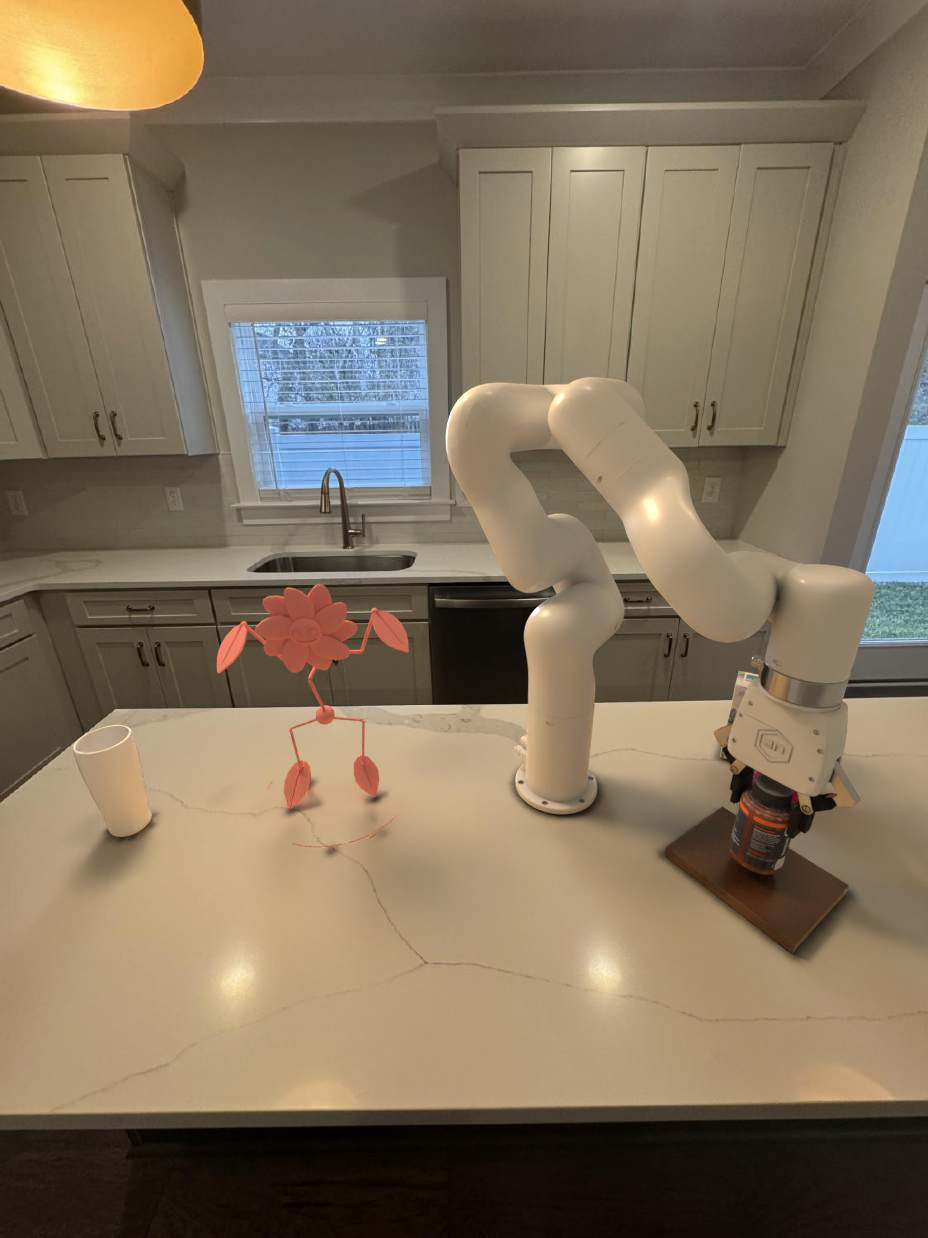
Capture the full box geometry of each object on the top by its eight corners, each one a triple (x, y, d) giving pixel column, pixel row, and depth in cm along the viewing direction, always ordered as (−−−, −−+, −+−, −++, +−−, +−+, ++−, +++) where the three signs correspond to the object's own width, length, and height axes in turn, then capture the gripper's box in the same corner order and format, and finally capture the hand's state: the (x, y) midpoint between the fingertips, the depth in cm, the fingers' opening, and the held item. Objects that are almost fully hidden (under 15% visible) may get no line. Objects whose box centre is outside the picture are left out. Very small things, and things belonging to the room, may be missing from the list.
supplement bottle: (793, 878, 60) (817, 803, 56) (742, 877, 60) (762, 803, 56) (765, 838, 66) (785, 767, 61) (719, 838, 66) (736, 767, 62)
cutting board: (664, 855, 67) (665, 846, 66) (720, 814, 74) (722, 806, 73) (791, 954, 55) (795, 944, 54) (845, 894, 61) (849, 885, 61)
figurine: (255, 784, 81) (210, 575, 68) (416, 770, 84) (403, 565, 71) (225, 862, 67) (161, 617, 54) (420, 842, 70) (405, 603, 57)
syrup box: (760, 751, 87) (778, 676, 81) (757, 770, 82) (776, 693, 77) (723, 741, 90) (739, 668, 84) (718, 759, 85) (734, 683, 80)
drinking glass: (168, 816, 75) (142, 731, 69) (123, 849, 69) (91, 759, 64) (138, 803, 78) (111, 719, 72) (93, 834, 72) (59, 746, 66)
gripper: (705, 661, 58) (682, 786, 65) (884, 733, 45) (832, 881, 52) (741, 645, 62) (716, 765, 69) (916, 706, 49) (863, 847, 56)
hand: (766, 813), depth 60 cm, fingers closed on supplement bottle, 5 cm apart
